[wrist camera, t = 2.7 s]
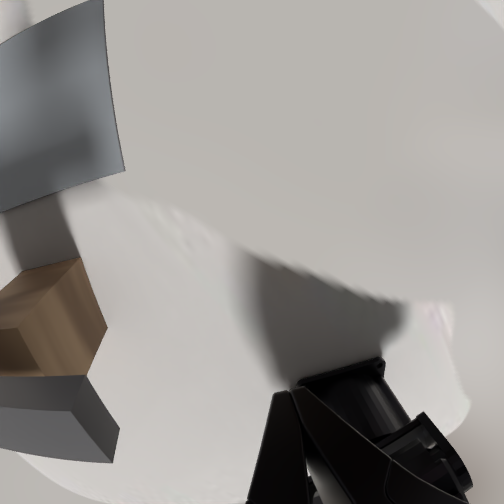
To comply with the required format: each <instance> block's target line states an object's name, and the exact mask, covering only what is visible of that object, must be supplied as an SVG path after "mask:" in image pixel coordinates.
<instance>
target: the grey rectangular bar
mask: <svg viewBox="0 0 504 504" xmlns="http://www.w3.org/2000/svg"><path fill="white" fill-rule="evenodd" d="M119 430H120V428H119V426H118V425H117V423H116V422H115V420H114V419H113V418H112V416H111V415H110V413H109V412H108V410H107V409H106V407H105V406H104V404H103V402H102V401H101V399H100V398H99V396H98V395H97V393H96V391H95V390H94V388H93V386H92V385H91V383H90V381H89V380H88V378H87V376H86V375H68V376H30V377H17V376H0V448H3V449H8V450H12V451H16V452H21V453H26V454H31V455H37V456H43V457H50V458H57V459H64V460H73V461H84V462H97V463H113V459H114V454H115V449H116V444H117V440H118V435H119Z"/></svg>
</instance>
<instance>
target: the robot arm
mask: <svg viewBox="0 0 504 504" xmlns="http://www.w3.org/2000/svg"><path fill="white" fill-rule="evenodd" d="M385 364H386V363H385V361H384V359H383V358H382V357H377V358H374V359H371V360H368V361H365V362H362V363H359V364H355V365H352V366H349V367H345V368H342V369H339V370H335V371H332V372H328V373H324V374H321V375H317V376H313V377H309V378H305V379H302V380H300V381H299V382H298V383H297V385H296V386H297V388H294V389H291V390H290V391H287V390H285V391H281V392H276V393H274V394H273V396H272V400H271V405H270V409H269V413H268V418H267V422H266V426H265V430H264V435H263V439H262V443H261V447H260V451H259V455H258V459H257V463H256V467H255V470H254V474H253V478H252V482H251V486H250V489H249V493H248V497H247V499H248V500H247V501H246V503H245V504H469V502H468V500H467V498H466V496H465V494H464V493H465V492H467V491H468V490H469V489H471V488H472V487H473V483H472V480H471V477H470V475H469V473H468V471H467V468H466V467H465V465H464V463H463V461H462V460H461V458H460V457H459V455H458V454H457V452H456V451H455V450H454V448H453V447H452V446H451V445H450V443H449V442H448V441H447V439H446V438H445V437H444V436H443V434H442V433H441V432H440V431H439V430H438V428H437V427H436V426H435V425H434V423H433V422H432V421H431V420H430V419H429V417H428V416H427V415H426V414H425V412H424V411H423V412H422V413H420V414H419V415H417V416H416V418H415V419H414V420H412V421H411V419H410V418H409V416H408V415H407V413H406V412H405V410H404V409H403V407H402V405H401V404H400V402H399V401H398V399H397V398H396V396H395V395H394V393H393V392H392V390H391V389H390V387H389V386H388V384H387V383H386V381H385V380H384V371H385ZM305 385H306V386H305ZM303 386H304V387H303ZM307 468H308V470H309V472H310V475H311V476H308V473H307Z"/></svg>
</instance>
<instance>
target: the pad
mask: <svg viewBox="0 0 504 504" xmlns="http://www.w3.org/2000/svg"><path fill="white" fill-rule="evenodd" d="M124 171H125V166H124V161H123V157H122V152H121V146H120V141H119V135H118V130H117V125H116V118H115V112H114V105H113V98H112V91H111V83H110V75H109V67H108V57H107V47H106V35H105V21H104V1H103V0H89V1H86V2H83V3H81V4H79V5H76V6H74V7H71V8H69V9H67V10H64V11H62V12H60V13H58V14H56V15H54V16H51V17H49V18H47V19H45V20H43V21H41V22H39V23H37V24H35V25H34V26H32V27H30V28H28V29H26V30H24V31H23V32H21V33H19V34H17V35H16V36H14V37H12V38H11V39H9V40H7V41H6V42H4V43H2V44H1V45H0V213H1V212H4V211H6V210H9V209H11V208H14V207H16V206H19V205H21V204H24V203H27V202H29V201H32V200H35V199H38V198H40V197H43V196H46V195H49V194H52V193H55V192H58V191H61V190H64V189H67V188H70V187H73V186H76V185H79V184H82V183H86V182H89V181H92V180H96V179H99V178H102V177H106V176H109V175H113V174H116V173H120V172H124Z"/></svg>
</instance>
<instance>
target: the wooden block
mask: <svg viewBox="0 0 504 504" xmlns="http://www.w3.org/2000/svg"><path fill="white" fill-rule="evenodd" d="M107 328H108V327H107V325H106V322H105V320H104V318H103V315H102V313H101V310H100V308H99V305H98V303H97V300H96V298H95V295H94V293H93V290H92V287H91V285H90V282H89V279H88V276H87V274H86V271H85V268H84V265H83V262H82V259H81V257H80V258H75V259H71V260H67V261H63V262H59V263H54V264H50V265H46V266H42V267H38V268H34V269H30V270H26V271H22V272H21V273H20V274H19V275H18V276H17V277H15V278H14V279H13V280H12V281H11V282H10V283H9V284H7V285H6V286H5V287H4V288H3V289H2V290H1V291H0V376H17V377H30V376H68V375H86V376H87V373H88V371H89V368H90V366H91V364H92V361H93V359H94V357H95V355H96V352H97V350H98V348H99V346H100V343H101V341H102V339H103V337H104V335H105V333H106V330H107Z"/></svg>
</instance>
